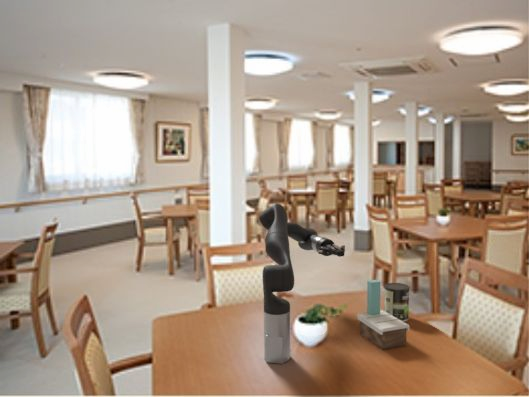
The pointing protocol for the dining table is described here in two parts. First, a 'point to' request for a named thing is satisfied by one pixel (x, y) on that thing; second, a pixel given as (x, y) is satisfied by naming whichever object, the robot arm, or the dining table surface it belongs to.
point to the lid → (378, 312)
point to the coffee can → (397, 300)
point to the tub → (384, 337)
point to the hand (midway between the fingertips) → (341, 254)
